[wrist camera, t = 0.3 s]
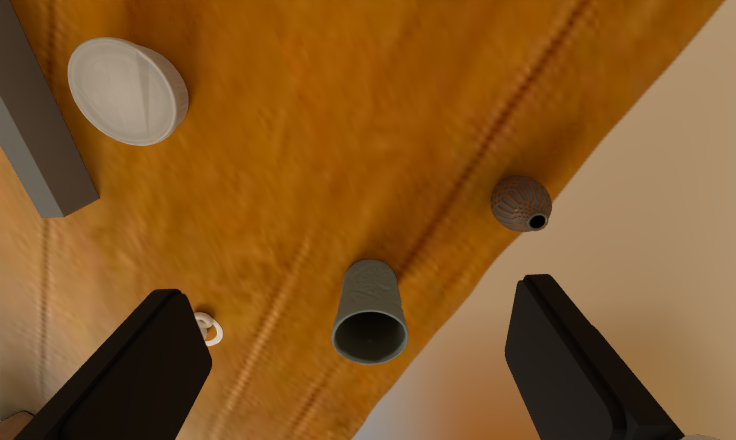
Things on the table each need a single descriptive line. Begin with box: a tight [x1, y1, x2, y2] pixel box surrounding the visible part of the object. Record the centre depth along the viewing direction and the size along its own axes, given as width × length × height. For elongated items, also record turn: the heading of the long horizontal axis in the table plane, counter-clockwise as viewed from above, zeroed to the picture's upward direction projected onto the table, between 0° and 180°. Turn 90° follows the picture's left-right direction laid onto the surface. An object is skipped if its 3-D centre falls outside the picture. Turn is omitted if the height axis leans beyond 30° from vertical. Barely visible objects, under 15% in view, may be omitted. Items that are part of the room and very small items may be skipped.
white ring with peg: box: [194, 312, 223, 346], centre depth 56 cm, size 9×8×4 cm
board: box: [0, 0, 99, 218], centre depth 37 cm, size 28×3×6 cm, turn 2°
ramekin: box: [67, 37, 189, 146], centre depth 37 cm, size 11×11×5 cm
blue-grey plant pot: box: [331, 259, 408, 364], centre depth 47 cm, size 10×10×12 cm
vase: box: [491, 176, 552, 232], centre depth 41 cm, size 7×7×9 cm
